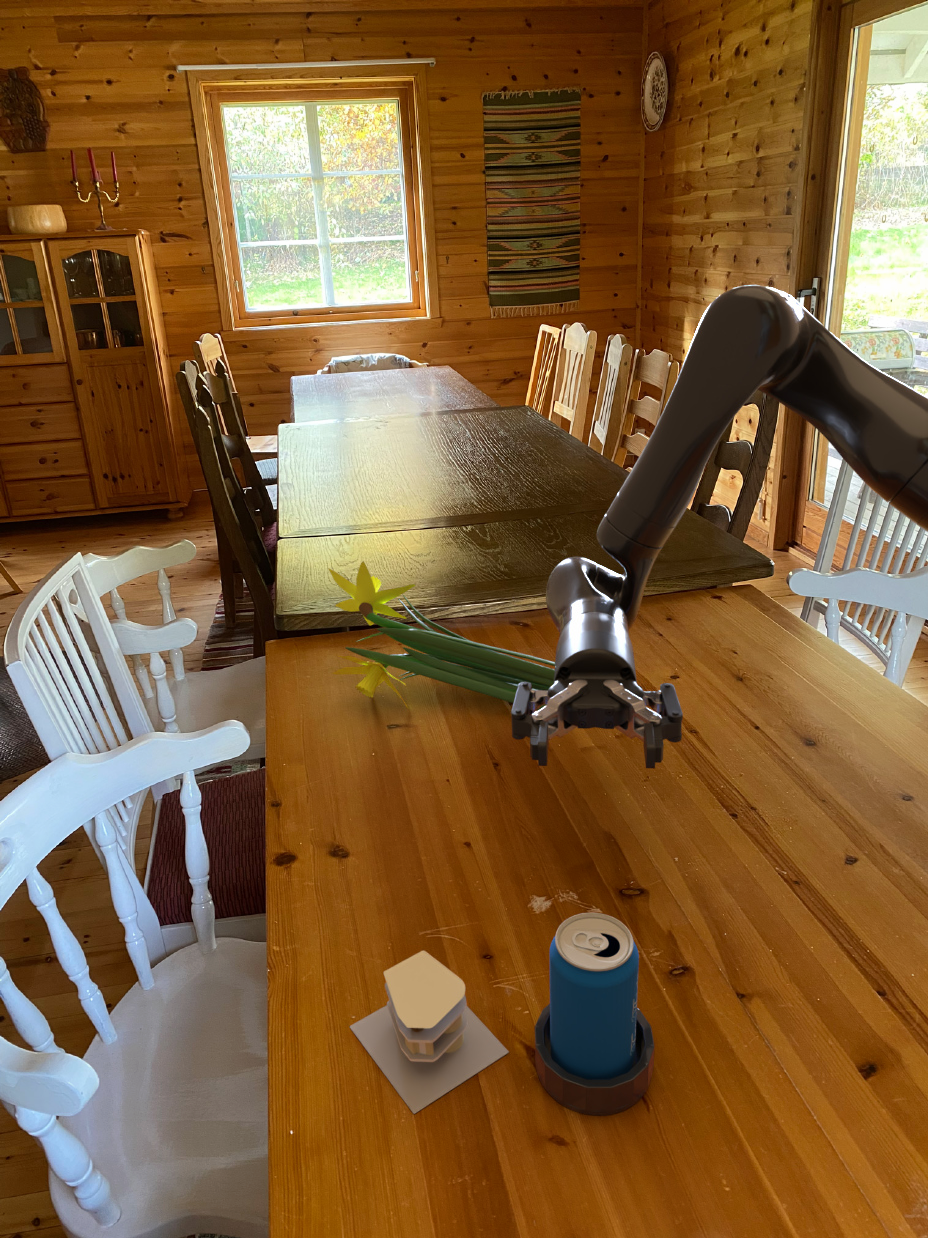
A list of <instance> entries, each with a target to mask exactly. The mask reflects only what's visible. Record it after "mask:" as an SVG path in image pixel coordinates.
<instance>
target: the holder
mask: <svg viewBox="0 0 928 1238" xmlns="http://www.w3.org/2000/svg"><path fill="white" fill-rule="evenodd" d="M653 1034H654V1033H653V1028H652V1026H651V1024H650V1022H649V1021H648V1020H647V1018H646V1017H645V1015H644V1014H643V1012H642V1011H641V1009H639V1008H638V1007H637V1014H636V1037H635V1057H634V1062H633V1065H632V1067H631V1069H630V1071H629V1072H628V1073H625V1074H622V1075H620V1076H617V1077H614V1078H612V1079H609V1080H596V1079H585V1078H582V1077H579V1076H576V1075H573V1074H570V1073H568V1072H567V1071H566V1070H564V1069H563V1068H562V1067H561V1066H559V1065H558V1064H557V1063H556V1062H555V1061H553V1059H552V1055H551V1048H550V1003H548V1004H547V1005H546V1006H545V1007H544V1008H542V1010H541V1012H540V1014H539V1017H538V1019H537V1020H536V1023H535V1025H534V1058H535V1061H534V1062H535V1070H536V1074H537V1076H538V1077H537V1078H538V1079H539V1082H540V1084H541V1085H542V1087H543V1089H544V1090H545V1091H546V1092H547V1094H548V1095H549V1096H551V1098H552V1099H553V1100H554V1101H556V1102H557V1103H558V1104H560V1105H562V1106H563V1107H564V1108H567V1109H569V1110H570V1111H574V1112H576V1113H578V1114H579V1113H580V1114H584V1115H589V1116H599V1117H600V1116H609V1115H615V1114H618V1113H621V1112H623V1111H626V1110H628V1109H630V1108H632V1107H633V1106H634V1105H636V1104H637V1103H638V1102H639V1101H640V1100H641V1099H642V1098H643V1096H645V1094H646V1093H647V1091H648V1089H649V1086H650V1084H651V1082H652V1076H653V1072H654V1064H655V1063H654V1061H655V1047H656V1046H655V1039H654V1035H653Z"/></svg>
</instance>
